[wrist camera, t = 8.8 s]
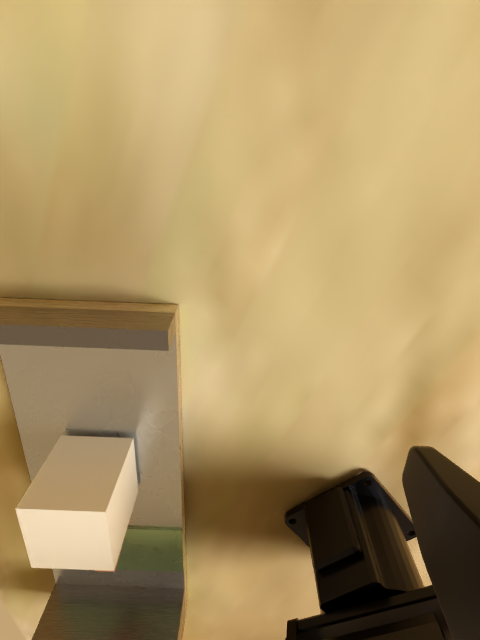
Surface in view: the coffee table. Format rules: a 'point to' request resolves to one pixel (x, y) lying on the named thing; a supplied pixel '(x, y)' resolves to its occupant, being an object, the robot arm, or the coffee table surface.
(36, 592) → the coffee table surface
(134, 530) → the gray display stand
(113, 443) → the cream rectangular block
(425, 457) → the robot arm
